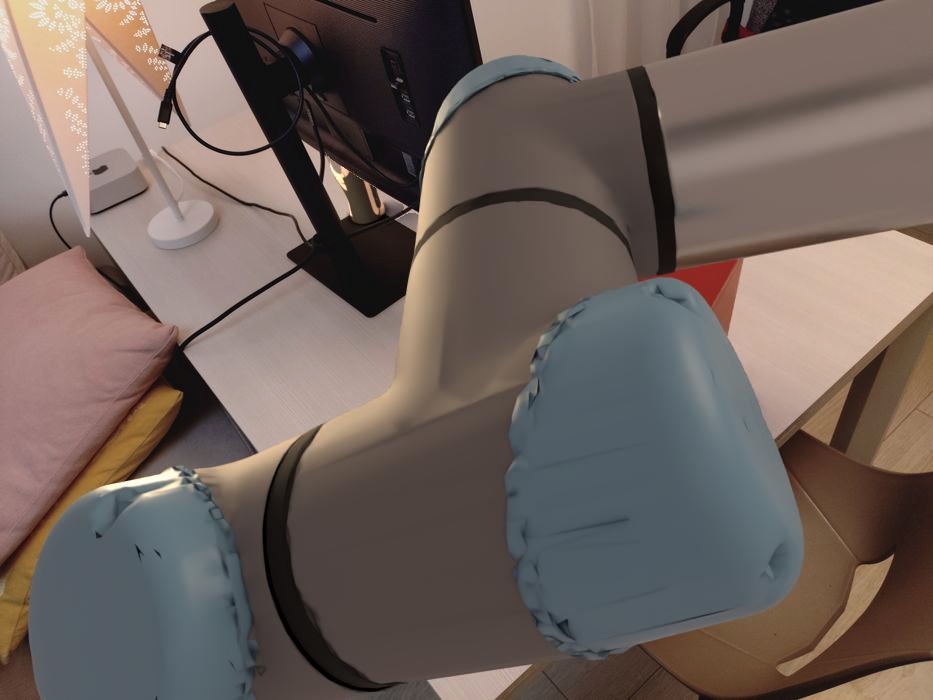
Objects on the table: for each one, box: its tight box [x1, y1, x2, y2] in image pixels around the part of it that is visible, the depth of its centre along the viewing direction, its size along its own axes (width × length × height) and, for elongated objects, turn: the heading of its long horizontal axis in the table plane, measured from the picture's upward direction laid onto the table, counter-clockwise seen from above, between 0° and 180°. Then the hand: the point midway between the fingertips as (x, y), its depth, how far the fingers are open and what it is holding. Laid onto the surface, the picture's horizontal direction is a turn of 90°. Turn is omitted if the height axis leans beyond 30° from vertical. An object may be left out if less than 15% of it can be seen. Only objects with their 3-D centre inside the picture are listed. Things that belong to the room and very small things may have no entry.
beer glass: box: [325, 153, 386, 225], centre depth 104 cm, size 7×7×15 cm
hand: (585, 469), depth 47 cm, fingers open, 13 cm apart
